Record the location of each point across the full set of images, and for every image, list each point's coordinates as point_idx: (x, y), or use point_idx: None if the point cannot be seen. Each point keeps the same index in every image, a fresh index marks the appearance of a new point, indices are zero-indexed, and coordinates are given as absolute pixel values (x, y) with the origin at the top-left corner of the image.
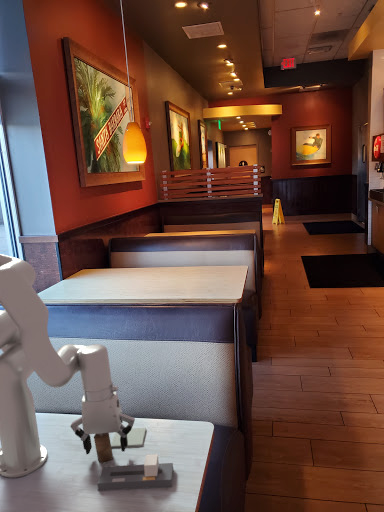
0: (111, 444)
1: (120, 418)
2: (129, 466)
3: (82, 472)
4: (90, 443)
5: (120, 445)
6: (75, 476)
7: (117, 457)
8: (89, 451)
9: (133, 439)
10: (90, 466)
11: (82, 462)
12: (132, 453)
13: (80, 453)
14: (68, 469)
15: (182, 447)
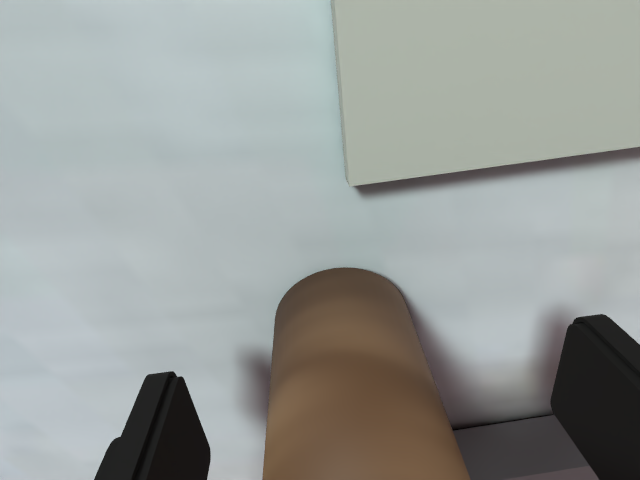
0: (350, 158)
1: None
2: (592, 472)
3: (214, 440)
4: (170, 449)
5: (464, 168)
6: None
7: (440, 288)
8: (202, 443)
9: (624, 38)
10: (244, 392)
11: (148, 365)
12: (574, 231)
13: (39, 267)
14: (82, 432)
15: None
